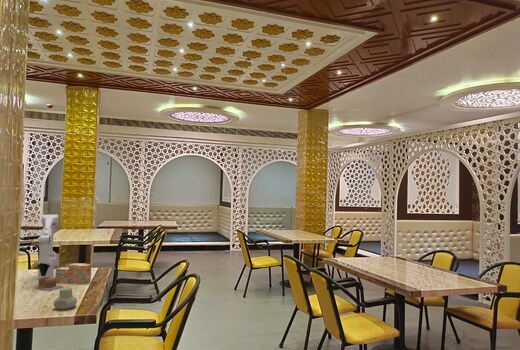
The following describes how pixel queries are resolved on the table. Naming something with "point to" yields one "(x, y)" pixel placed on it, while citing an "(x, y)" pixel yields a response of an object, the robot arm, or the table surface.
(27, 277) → the table surface
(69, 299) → the air freshener
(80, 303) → the table surface
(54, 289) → the slate mat
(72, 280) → the stack of blocks
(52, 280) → the walnut block
